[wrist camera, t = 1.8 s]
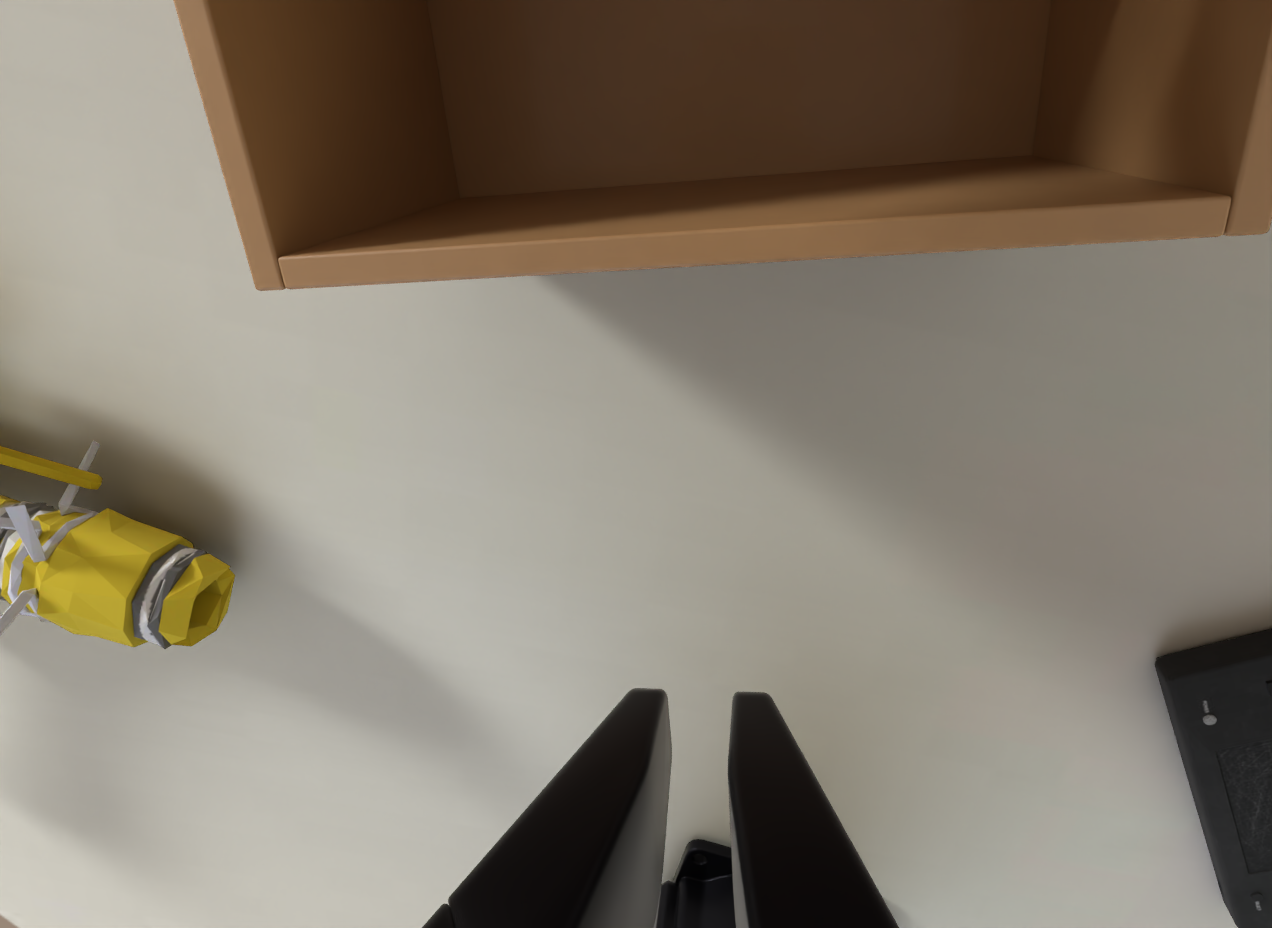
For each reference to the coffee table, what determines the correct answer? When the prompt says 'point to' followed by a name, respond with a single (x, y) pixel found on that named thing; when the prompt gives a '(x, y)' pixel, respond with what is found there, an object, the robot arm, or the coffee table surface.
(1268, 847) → the handheld gaming console
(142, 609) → the sprinkler
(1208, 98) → the carton
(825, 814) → the robot arm
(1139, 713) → the coffee table surface
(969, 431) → the coffee table surface
